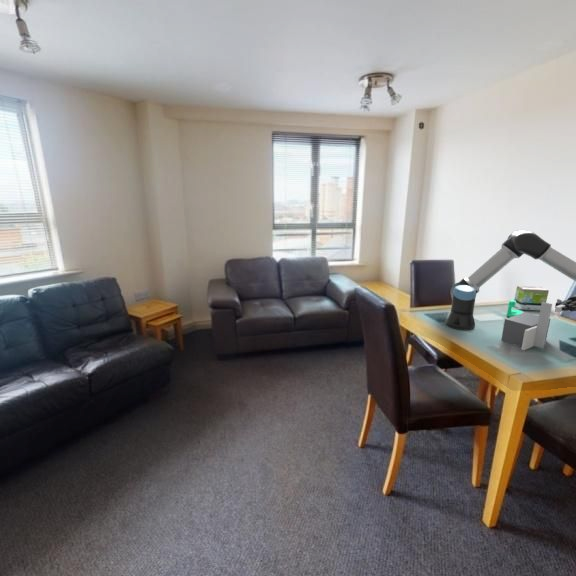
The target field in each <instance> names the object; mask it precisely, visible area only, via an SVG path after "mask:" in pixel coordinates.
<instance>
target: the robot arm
mask: <svg viewBox="0 0 576 576" xmlns="http://www.w3.org/2000/svg"><path fill="white" fill-rule="evenodd" d="M523 255H526V256H528V257H531V258H532V259H534V260H540V261H542V262H543V263H544V264H546V265H548V266H549V267H551V268H553V269H554V270H556V271H558V272H560V273H561V274H562V275H564V276H565V277H567V278H568V279H569V278H570V279H571V280H573V281H574V282H576V261H574V260H573V259H571V258H570V257H568V256H566V255H564V254H563V253H561V252H559V251H558V250H556V249H554V248H553V247H552V245H551V243H548V241H545V240H544V239H543V238H542V237H541V236H539V235H538V234H537V233H535V232H532V231H529V230H525V229H519V230H515V231H513V232H511V233H510V234H509V235H508V237H507V239H505V241H504V242H502V243H501V247H500V249H499V250H498V251H497V252H495V254H493V255H492V256H491V257H490V258H488V259H487V260H486V261H485V262H484V263H483V264H482V265H481V266H480V267H478V268H477V270H475V271H474V272H473V273H472V274H471V275H469V276H468V277H464V278H462V279H461V280H460V281H459V282H456V283H454V284H453V285H452V286H451V288H450V293H449V294H450V297H451V307H450V308H451V309H450V312H449V314H448V315H447V316H448V317H447V318H446V321H445V324H446V326H448V327H450V328H452V329H456V330H462V331H471V330H474V329H475V328H476V322H475V318H474V317H475V316H474V311H475V305H476V304H475V302H476V297H477V294H478V293H480V288H481V287H482V286H483V285H485V284H486V283H487V282H488V281H489V280H490V279H492V278H493V277H494V276H495V275H496V274H498V273H499V272H500V271H502V269H503V268H504V267H506V266H507V265H509V263H511V261H512V260H514V259H519V258H520V257H522V256H523ZM564 311H568V312H569V311H570V312H576V294H575V295H573V296H570V297H568V298H567V299H565V300H561V299H560V298H558V299H556V302H555V306H554V312H555V313H562V312H564Z"/></svg>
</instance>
